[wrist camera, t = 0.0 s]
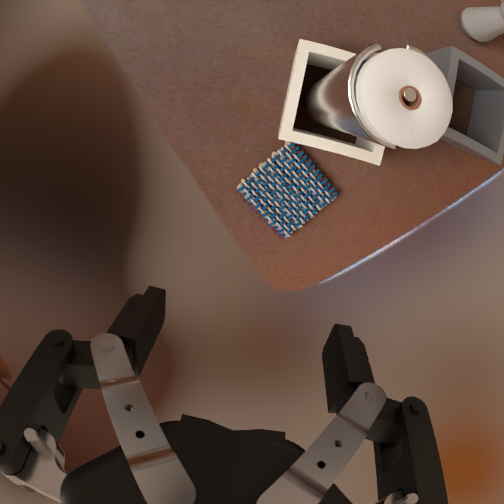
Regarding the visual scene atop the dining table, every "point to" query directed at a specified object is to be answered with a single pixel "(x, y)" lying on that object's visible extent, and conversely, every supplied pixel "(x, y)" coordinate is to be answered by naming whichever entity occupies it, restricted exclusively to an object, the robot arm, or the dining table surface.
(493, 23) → the salt shaker
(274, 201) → the woven mat
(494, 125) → the grey open box
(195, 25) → the dining table surface
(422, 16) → the dining table surface
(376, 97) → the silver tall cylinder
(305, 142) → the white open box
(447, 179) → the dining table surface
